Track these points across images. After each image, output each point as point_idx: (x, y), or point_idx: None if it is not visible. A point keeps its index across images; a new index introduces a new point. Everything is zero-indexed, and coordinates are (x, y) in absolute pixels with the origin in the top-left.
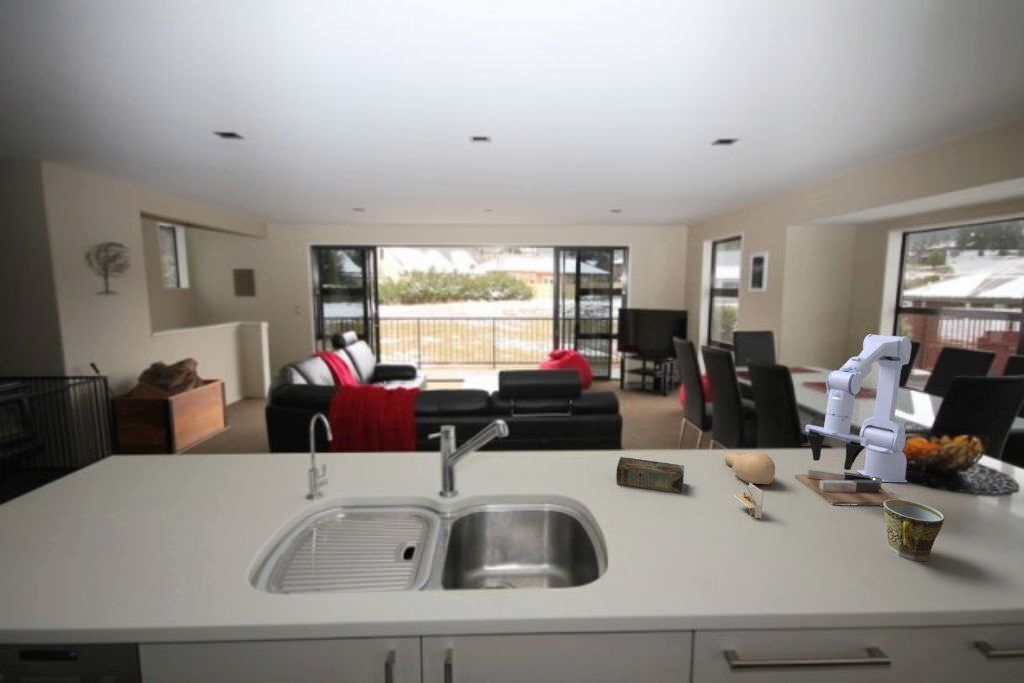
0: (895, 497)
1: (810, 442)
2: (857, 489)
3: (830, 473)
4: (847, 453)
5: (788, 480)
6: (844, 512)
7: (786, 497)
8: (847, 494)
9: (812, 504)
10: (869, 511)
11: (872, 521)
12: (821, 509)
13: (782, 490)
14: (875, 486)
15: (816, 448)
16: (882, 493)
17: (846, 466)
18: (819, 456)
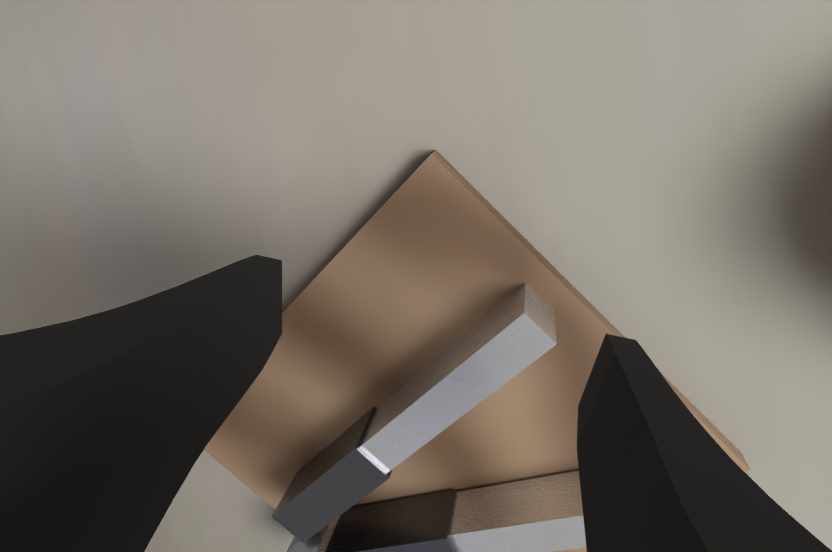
0: (228, 459)
1: (798, 535)
2: (365, 421)
3: (529, 519)
4: (109, 342)
5: (775, 377)
6: (352, 88)
7: (738, 24)
8: (399, 343)
9: (541, 51)
10: (267, 223)
11: (209, 82)
12: (471, 8)
13: (791, 151)
14: (293, 488)
15: (640, 465)
16: (282, 474)
17: (237, 263)
18: (582, 434)
